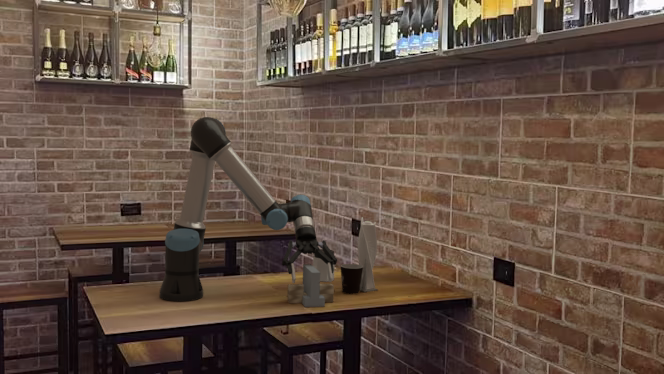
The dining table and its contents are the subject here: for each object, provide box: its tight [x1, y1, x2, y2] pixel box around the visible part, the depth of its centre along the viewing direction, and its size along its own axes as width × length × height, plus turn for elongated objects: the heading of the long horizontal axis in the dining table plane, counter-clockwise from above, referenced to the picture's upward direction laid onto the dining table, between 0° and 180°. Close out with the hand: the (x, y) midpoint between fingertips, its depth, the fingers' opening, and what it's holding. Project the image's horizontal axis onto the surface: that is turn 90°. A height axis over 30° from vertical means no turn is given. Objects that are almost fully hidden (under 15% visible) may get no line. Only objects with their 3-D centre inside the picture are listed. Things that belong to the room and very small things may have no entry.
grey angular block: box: [302, 263, 326, 308], centre depth 228 cm, size 14×7×12 cm, turn 15°
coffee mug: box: [340, 263, 363, 295], centre depth 246 cm, size 12×9×10 cm
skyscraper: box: [357, 216, 379, 293], centre depth 250 cm, size 8×8×28 cm
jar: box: [312, 248, 335, 283], centre depth 264 cm, size 9×8×12 cm
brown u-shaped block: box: [287, 283, 335, 304], centre depth 228 cm, size 16×3×6 cm, turn 105°
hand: (312, 280), depth 226 cm, fingers open, 13 cm apart
